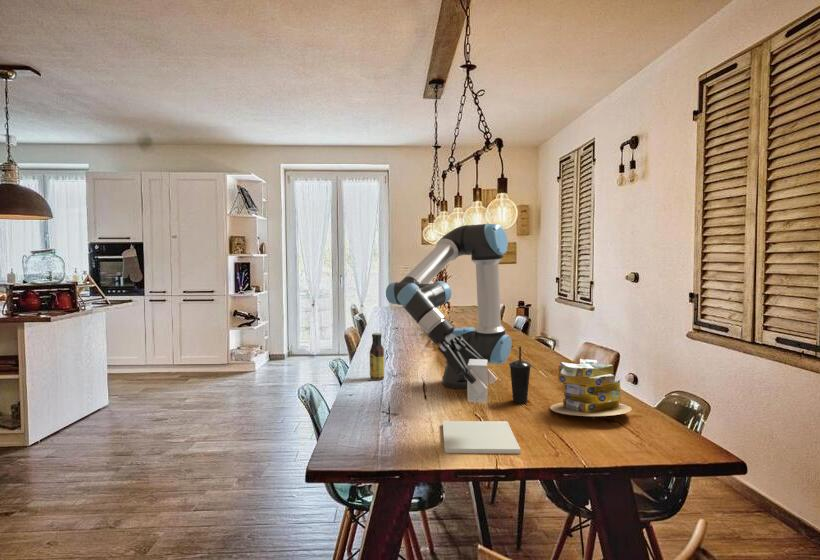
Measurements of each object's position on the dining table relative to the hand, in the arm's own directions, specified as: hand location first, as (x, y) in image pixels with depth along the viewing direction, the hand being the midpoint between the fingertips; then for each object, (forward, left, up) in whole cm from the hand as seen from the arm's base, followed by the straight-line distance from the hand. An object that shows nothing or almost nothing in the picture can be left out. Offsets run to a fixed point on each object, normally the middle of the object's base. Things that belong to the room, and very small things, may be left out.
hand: (488, 386), depth 126 cm
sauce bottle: (-17, -73, -16) cm, 77 cm away
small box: (+1, -3, -4) cm, 5 cm away
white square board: (+1, -3, -15) cm, 16 cm away
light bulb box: (-67, -3, -16) cm, 69 cm away
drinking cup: (-35, -13, -16) cm, 40 cm away
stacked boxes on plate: (-41, +10, -16) cm, 45 cm away
